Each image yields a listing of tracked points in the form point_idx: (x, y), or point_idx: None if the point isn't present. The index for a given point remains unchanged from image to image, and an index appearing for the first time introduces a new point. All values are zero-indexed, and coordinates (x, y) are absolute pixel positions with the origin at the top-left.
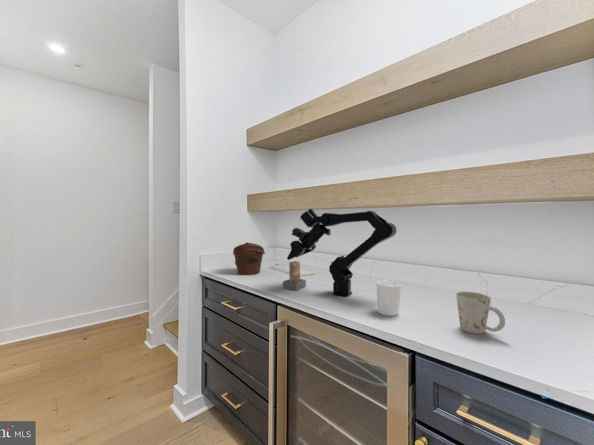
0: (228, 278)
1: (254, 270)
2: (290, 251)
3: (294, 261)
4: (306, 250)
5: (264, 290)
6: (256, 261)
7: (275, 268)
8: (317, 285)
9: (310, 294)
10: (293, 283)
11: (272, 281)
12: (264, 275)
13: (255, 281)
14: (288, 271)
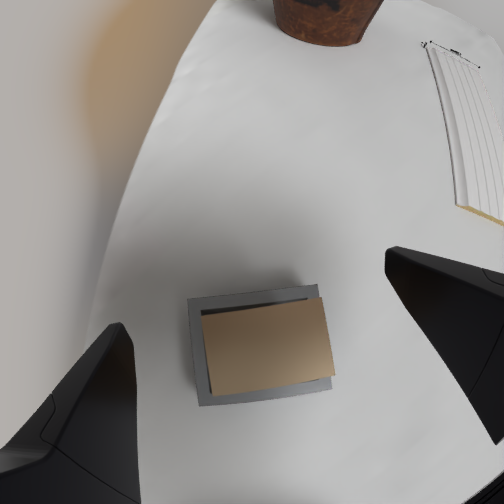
0: (201, 32)
1: (318, 32)
2: (31, 416)
3: (296, 319)
4: (497, 404)
5: (108, 255)
6: (330, 5)
7: (436, 61)
8: (385, 410)
9: (197, 492)
10: (197, 384)
11: (283, 157)
12: (341, 73)
13: (226, 106)
14: (454, 118)
